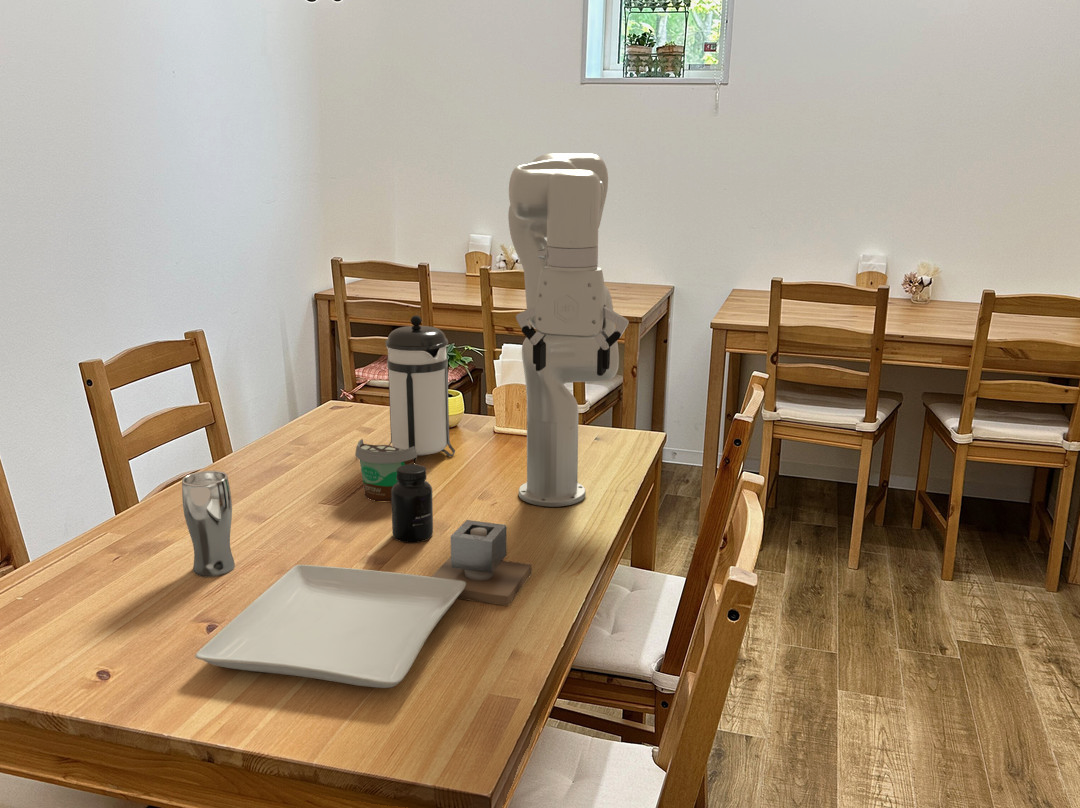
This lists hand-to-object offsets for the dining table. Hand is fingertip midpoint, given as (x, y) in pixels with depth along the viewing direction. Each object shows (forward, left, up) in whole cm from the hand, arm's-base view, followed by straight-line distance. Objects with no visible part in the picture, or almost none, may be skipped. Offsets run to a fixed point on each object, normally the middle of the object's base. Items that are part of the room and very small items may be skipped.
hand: (570, 371), depth 139 cm
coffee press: (-39, -45, -31) cm, 67 cm away
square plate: (+34, -22, -31) cm, 51 cm away
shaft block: (+14, -10, -30) cm, 35 cm away
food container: (-13, -40, -31) cm, 52 cm away
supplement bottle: (+1, -27, -31) cm, 41 cm away
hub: (+14, -10, -27) cm, 32 cm away
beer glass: (+22, -51, -31) cm, 63 cm away
